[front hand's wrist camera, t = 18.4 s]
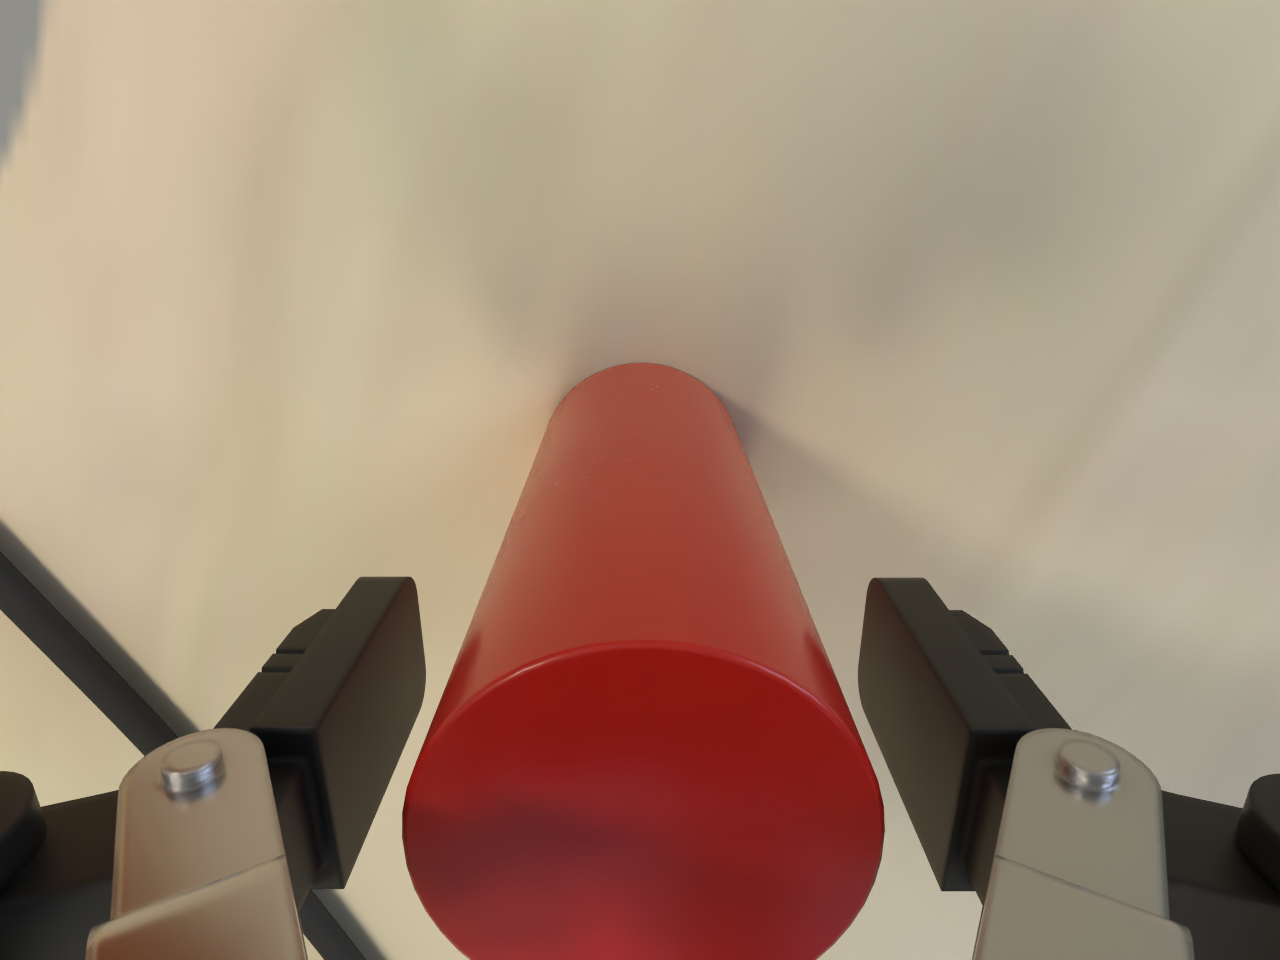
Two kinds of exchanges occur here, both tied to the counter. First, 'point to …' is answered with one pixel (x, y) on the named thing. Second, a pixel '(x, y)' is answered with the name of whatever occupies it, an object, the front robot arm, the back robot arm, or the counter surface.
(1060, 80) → the counter surface
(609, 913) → the canister
